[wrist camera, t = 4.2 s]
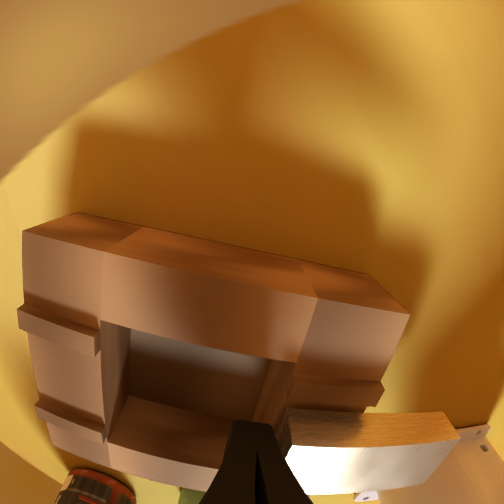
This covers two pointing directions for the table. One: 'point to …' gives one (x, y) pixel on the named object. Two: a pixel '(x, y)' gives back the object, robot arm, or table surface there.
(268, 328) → the dock
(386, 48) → the table surface
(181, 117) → the table surface
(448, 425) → the tan rectangular block
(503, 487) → the robot arm
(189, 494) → the peg
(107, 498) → the supplement bottle
